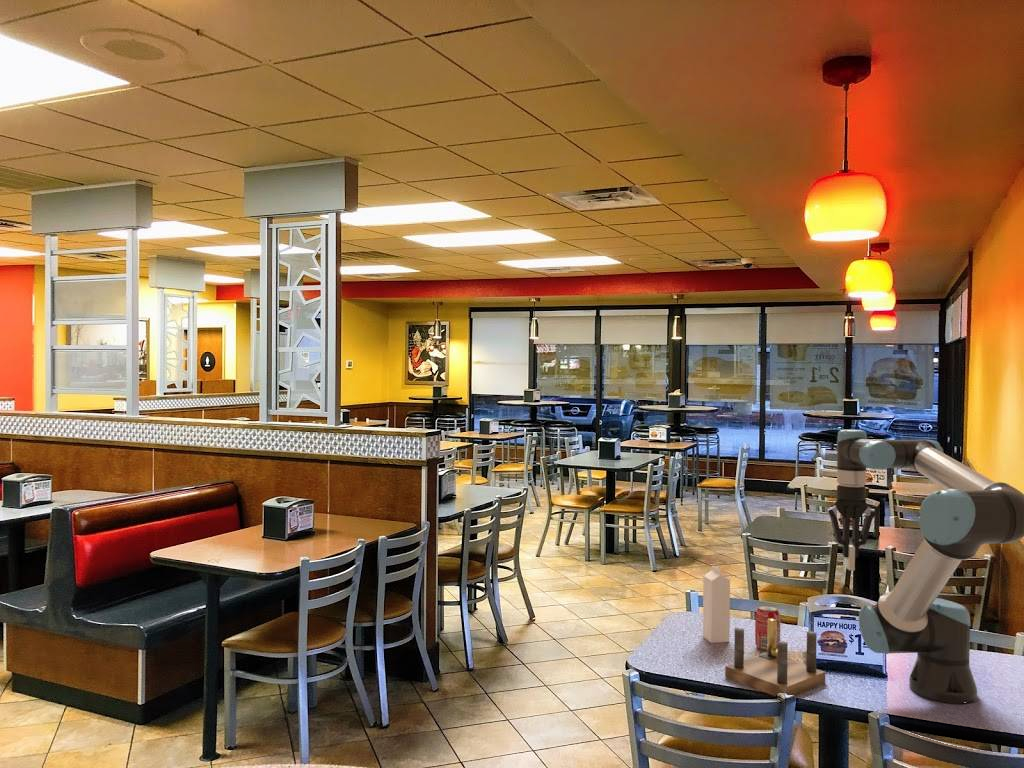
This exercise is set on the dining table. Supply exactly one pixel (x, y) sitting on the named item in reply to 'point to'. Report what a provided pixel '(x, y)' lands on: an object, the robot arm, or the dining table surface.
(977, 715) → the dining table surface
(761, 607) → the soda can
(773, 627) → the hinged leg
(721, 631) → the milk
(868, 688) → the dining table surface
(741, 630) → the stool seat
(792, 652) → the dining table surface
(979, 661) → the dining table surface
